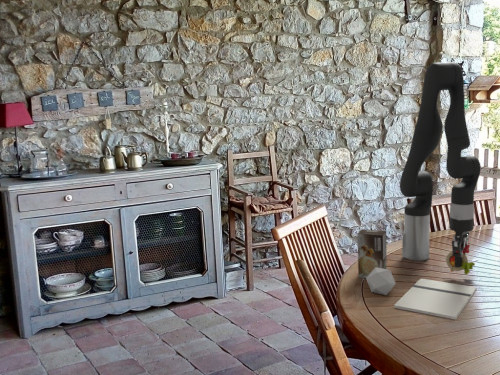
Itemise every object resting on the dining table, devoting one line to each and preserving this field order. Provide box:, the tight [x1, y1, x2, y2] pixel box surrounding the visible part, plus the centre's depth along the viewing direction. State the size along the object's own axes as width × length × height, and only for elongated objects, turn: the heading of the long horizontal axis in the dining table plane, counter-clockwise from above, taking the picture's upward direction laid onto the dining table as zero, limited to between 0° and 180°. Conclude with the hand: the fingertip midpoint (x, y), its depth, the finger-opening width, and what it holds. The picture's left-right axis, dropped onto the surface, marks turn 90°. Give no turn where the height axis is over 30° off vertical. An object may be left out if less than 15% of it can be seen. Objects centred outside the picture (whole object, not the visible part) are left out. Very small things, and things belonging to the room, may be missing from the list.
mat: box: [393, 278, 478, 320], centre depth 173 cm, size 18×26×1 cm
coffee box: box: [357, 228, 388, 279], centre depth 193 cm, size 9×6×16 cm
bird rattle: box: [445, 244, 476, 276], centre depth 188 cm, size 6×11×9 cm
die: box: [365, 267, 396, 296], centre depth 179 cm, size 8×9×10 cm
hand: (459, 264), depth 188 cm, fingers closed on bird rattle, 4 cm apart
